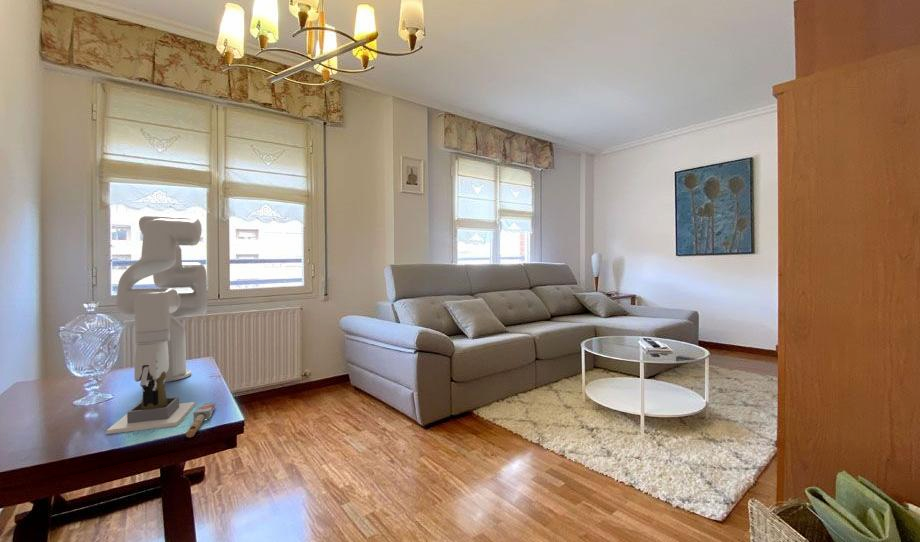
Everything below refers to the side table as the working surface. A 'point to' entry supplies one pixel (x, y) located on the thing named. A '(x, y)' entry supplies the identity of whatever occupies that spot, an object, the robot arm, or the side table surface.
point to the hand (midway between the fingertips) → (154, 401)
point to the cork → (161, 394)
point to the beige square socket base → (152, 417)
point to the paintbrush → (200, 417)
